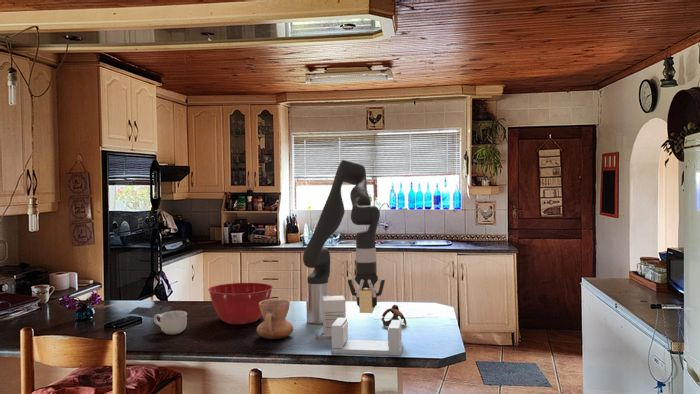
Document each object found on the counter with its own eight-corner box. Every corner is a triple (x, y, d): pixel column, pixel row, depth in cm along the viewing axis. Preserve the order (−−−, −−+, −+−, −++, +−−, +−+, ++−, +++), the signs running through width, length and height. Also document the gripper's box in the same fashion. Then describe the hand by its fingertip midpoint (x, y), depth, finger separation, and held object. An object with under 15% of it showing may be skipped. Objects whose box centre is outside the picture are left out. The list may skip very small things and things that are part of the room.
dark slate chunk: (144, 311, 266) (144, 301, 266) (180, 314, 259) (180, 304, 258) (121, 318, 252) (121, 308, 252) (159, 321, 244) (159, 311, 244)
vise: (331, 352, 191) (331, 326, 191) (338, 343, 203) (337, 318, 203) (400, 355, 187) (400, 328, 187) (403, 345, 199) (402, 320, 199)
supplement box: (322, 332, 220) (322, 295, 220) (344, 331, 221) (344, 295, 220) (323, 338, 211) (322, 300, 211) (346, 337, 212) (345, 299, 211)
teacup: (192, 330, 226) (192, 311, 226) (176, 337, 216) (175, 317, 216) (165, 328, 231) (164, 309, 231) (148, 334, 221) (147, 315, 221)
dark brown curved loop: (408, 330, 225) (397, 319, 221) (389, 337, 229) (378, 327, 225) (408, 308, 234) (397, 297, 230) (390, 315, 238) (379, 305, 234)
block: (359, 312, 192) (359, 290, 192) (362, 308, 199) (361, 287, 199) (372, 313, 191) (371, 290, 191) (374, 308, 198) (374, 287, 198)
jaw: (315, 347, 192) (315, 325, 192) (322, 338, 204) (322, 317, 204) (342, 348, 191) (342, 325, 191) (348, 339, 202) (348, 317, 202)
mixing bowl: (257, 311, 260) (257, 279, 260) (284, 323, 236) (283, 288, 236) (200, 320, 244) (199, 286, 244) (222, 333, 221) (221, 296, 220)
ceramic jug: (265, 330, 224) (265, 296, 224) (298, 332, 221) (298, 297, 221) (248, 342, 206) (248, 306, 206) (284, 344, 203) (283, 307, 203)
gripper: (386, 259, 197) (387, 305, 198) (348, 259, 200) (349, 304, 200) (384, 261, 190) (385, 309, 190) (345, 261, 192) (345, 309, 193)
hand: (367, 306), depth 195 cm, fingers closed on block, 4 cm apart
